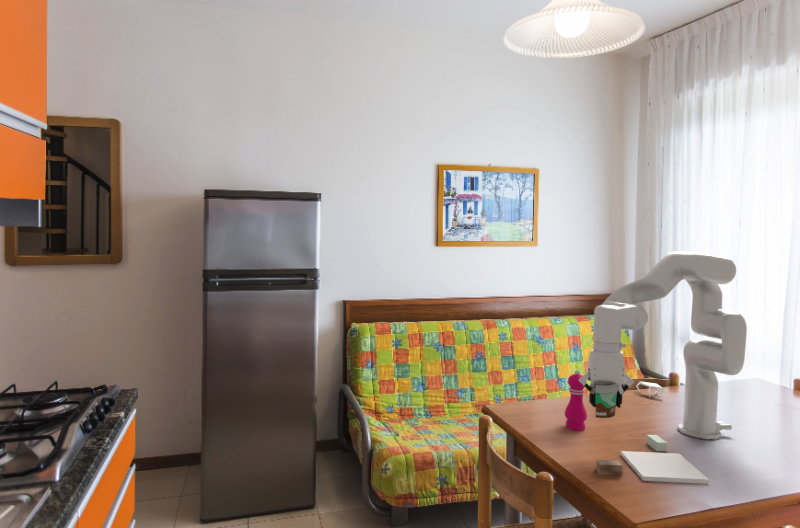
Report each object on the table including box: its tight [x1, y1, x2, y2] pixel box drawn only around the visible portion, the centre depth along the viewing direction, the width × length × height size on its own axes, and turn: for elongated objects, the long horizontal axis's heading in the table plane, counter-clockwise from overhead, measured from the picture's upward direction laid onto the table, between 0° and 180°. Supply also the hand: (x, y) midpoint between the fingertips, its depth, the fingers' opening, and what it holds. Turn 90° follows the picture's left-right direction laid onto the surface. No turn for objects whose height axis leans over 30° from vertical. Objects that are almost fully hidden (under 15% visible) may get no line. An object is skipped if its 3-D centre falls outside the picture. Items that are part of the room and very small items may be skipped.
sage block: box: [646, 434, 668, 452], centre depth 157 cm, size 6×3×3 cm, turn 2°
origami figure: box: [635, 381, 664, 400], centre depth 210 cm, size 12×8×5 cm
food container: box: [595, 383, 620, 419], centre depth 150 cm, size 12×6×10 cm, turn 153°
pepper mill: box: [564, 369, 588, 432], centre depth 171 cm, size 7×7×20 cm
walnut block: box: [595, 459, 623, 477], centre depth 139 cm, size 6×3×3 cm, turn 87°
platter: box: [620, 450, 710, 485], centre depth 142 cm, size 17×16×1 cm
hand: (605, 405), depth 150 cm, fingers closed on food container, 6 cm apart
